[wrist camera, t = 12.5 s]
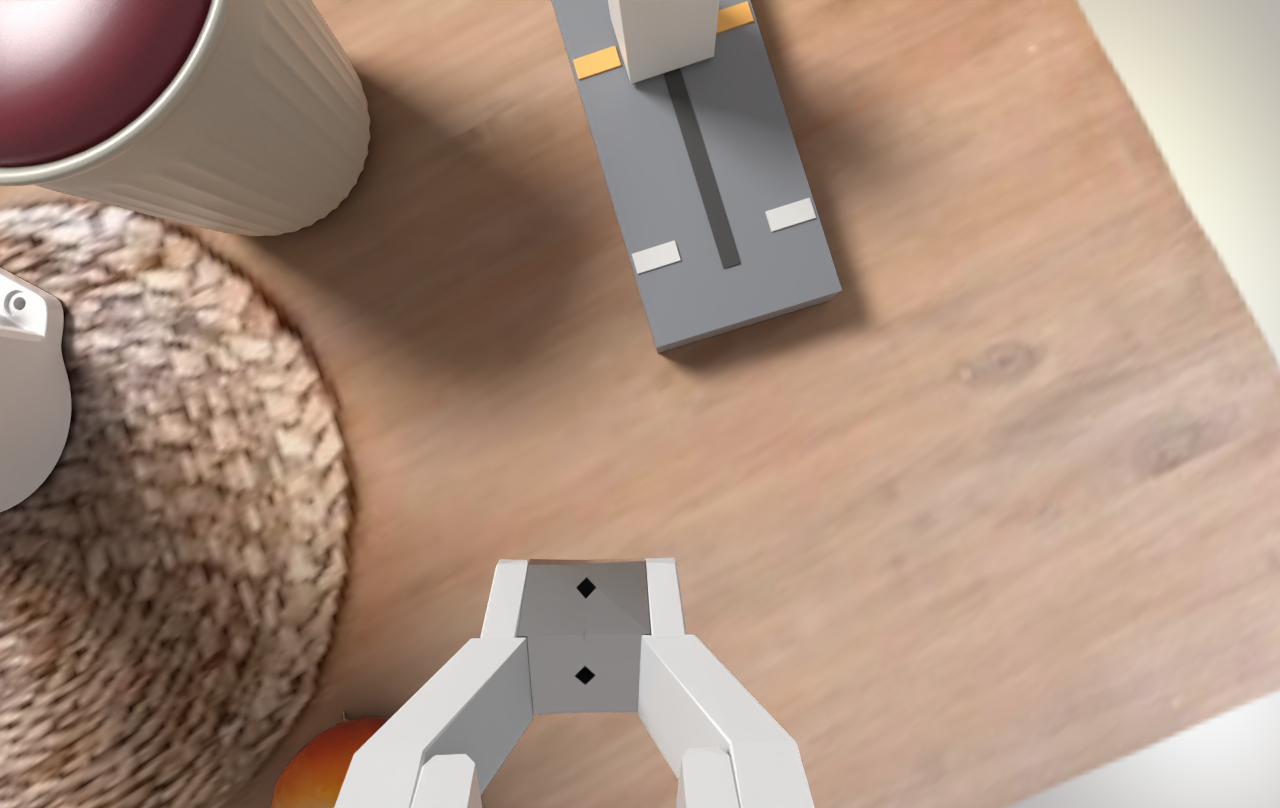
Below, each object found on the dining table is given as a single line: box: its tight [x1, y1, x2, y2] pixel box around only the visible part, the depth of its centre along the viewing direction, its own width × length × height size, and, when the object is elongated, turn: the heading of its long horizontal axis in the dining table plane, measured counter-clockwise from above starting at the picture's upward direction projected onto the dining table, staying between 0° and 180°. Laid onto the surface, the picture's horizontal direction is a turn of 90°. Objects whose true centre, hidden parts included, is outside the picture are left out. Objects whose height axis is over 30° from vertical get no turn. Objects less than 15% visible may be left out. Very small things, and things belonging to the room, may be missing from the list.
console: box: [551, 0, 842, 353], centre depth 36 cm, size 22×11×3 cm, turn 17°
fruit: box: [271, 711, 392, 808], centre depth 36 cm, size 8×8×8 cm
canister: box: [0, 0, 370, 236], centre depth 29 cm, size 18×18×21 cm
